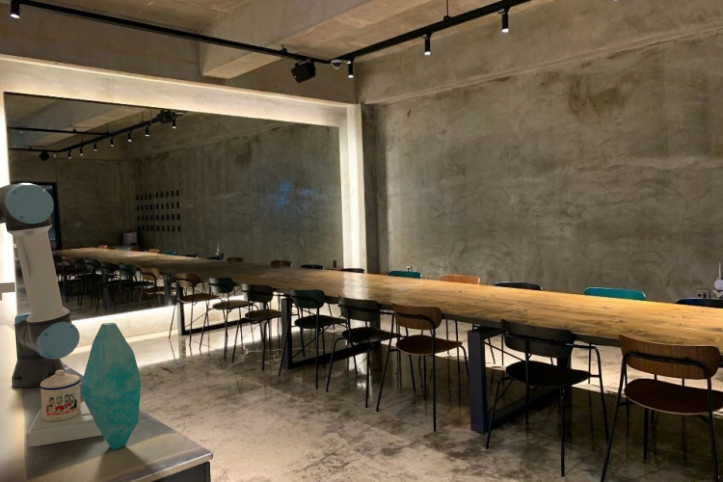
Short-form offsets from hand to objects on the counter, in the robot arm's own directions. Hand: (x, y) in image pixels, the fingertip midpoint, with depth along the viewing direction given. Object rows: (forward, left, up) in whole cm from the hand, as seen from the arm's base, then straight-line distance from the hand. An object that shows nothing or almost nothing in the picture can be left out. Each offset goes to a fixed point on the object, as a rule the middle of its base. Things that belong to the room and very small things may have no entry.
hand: (8, 290), depth 139 cm
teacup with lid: (+14, +15, -31) cm, 37 cm away
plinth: (+14, +15, -35) cm, 40 cm away
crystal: (+31, +27, -35) cm, 54 cm away
